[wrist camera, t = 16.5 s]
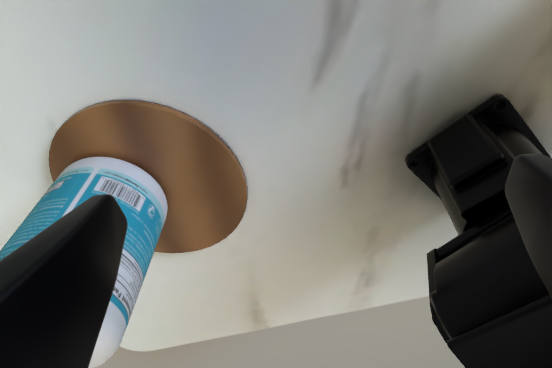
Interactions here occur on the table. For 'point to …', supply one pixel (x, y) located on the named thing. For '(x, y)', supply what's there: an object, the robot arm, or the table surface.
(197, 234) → the disc
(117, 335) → the pill bottle
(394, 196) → the table surface
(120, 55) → the table surface
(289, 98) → the table surface
